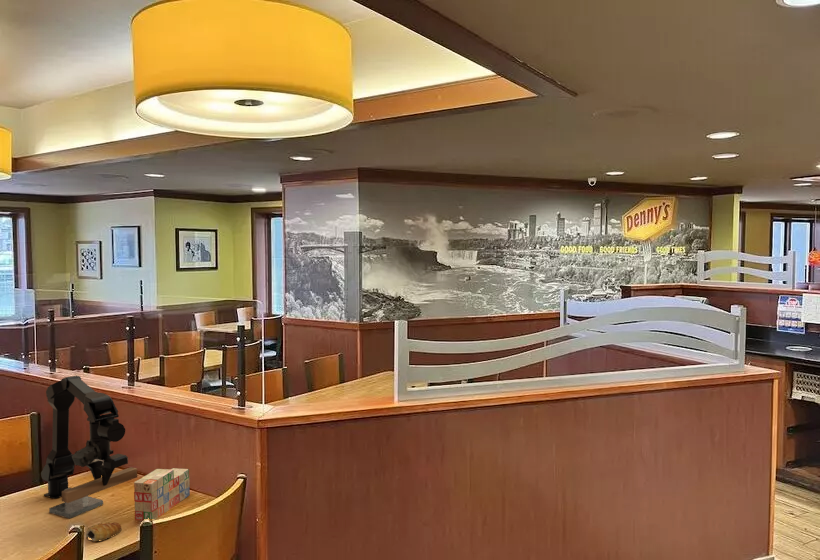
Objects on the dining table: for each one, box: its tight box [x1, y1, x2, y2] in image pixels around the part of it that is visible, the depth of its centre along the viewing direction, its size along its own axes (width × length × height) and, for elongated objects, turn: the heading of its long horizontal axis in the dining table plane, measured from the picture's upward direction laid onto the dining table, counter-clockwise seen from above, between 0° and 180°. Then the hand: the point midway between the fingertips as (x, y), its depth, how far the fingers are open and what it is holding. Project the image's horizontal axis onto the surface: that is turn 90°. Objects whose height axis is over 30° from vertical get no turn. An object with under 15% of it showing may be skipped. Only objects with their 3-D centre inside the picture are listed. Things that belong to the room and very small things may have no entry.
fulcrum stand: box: [48, 487, 104, 519], centre depth 203 cm, size 10×12×6 cm
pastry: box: [85, 521, 122, 542], centre depth 184 cm, size 9×7×4 cm
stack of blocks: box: [133, 467, 191, 521], centre depth 204 cm, size 21×6×12 cm, turn 168°
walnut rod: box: [61, 466, 138, 503], centre depth 197 cm, size 3×24×3 cm, turn 151°
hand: (101, 484), depth 197 cm, fingers closed on walnut rod, 3 cm apart
